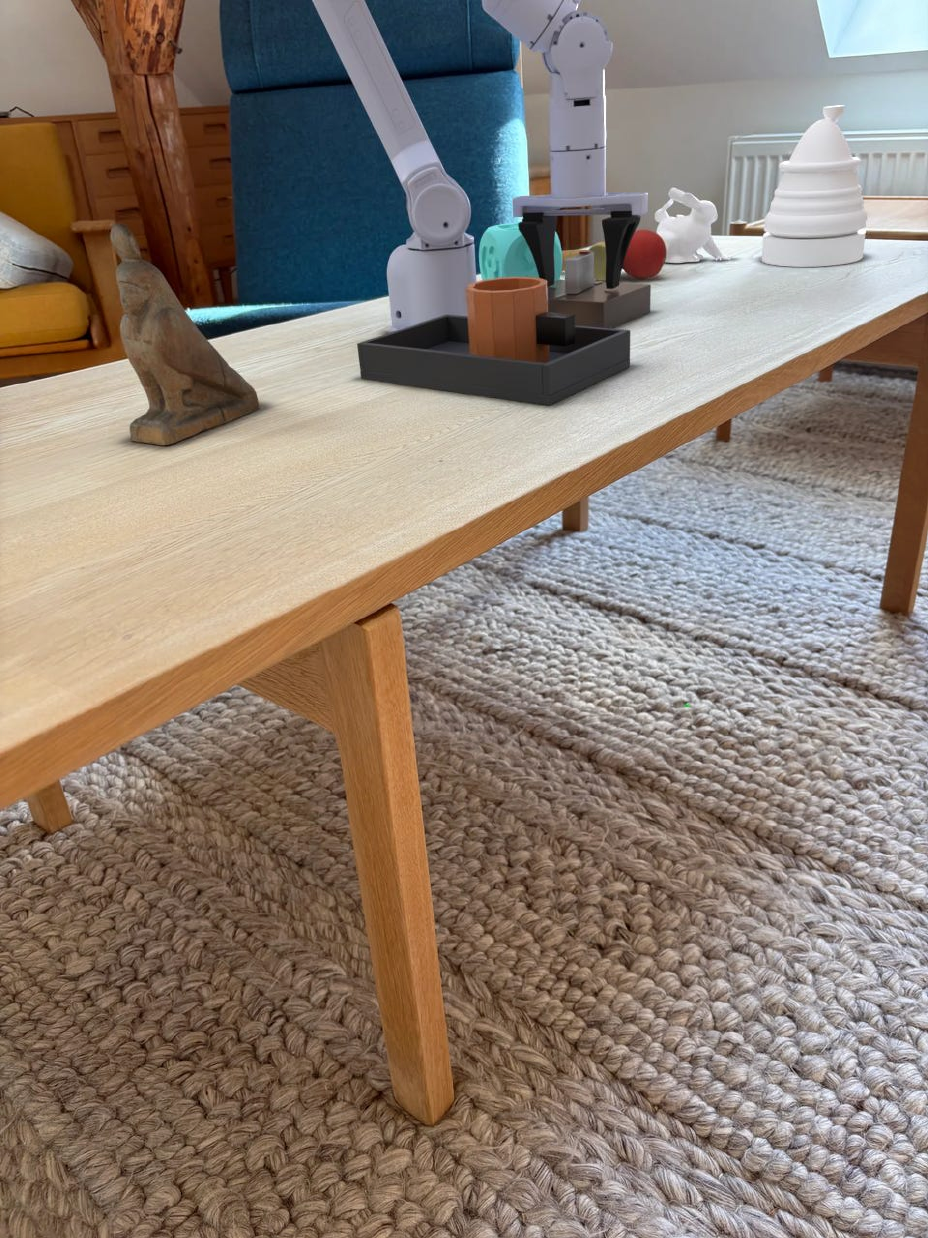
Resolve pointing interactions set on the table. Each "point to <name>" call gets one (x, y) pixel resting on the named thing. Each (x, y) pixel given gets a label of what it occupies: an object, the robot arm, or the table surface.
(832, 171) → the honey pot
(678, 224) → the rabbit figurine
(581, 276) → the grey block with red
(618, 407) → the table surface
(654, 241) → the kendama
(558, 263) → the decorative dice
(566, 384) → the dark grey tray
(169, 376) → the worn brown figurine
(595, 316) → the panel
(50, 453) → the table surface
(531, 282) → the pot
